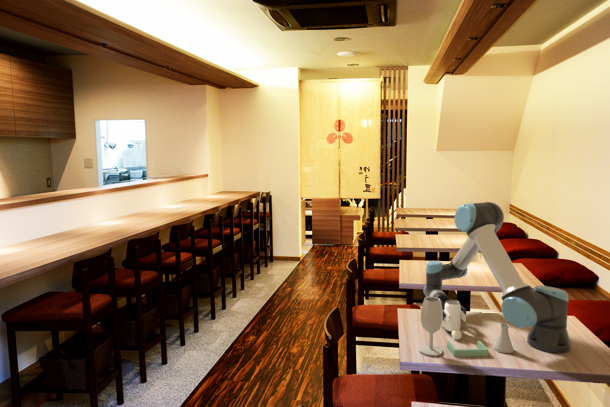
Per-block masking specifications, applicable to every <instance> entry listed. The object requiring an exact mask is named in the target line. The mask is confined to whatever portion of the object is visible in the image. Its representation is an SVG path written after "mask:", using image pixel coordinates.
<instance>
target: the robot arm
mask: <svg viewBox="0 0 610 407" xmlns="http://www.w3.org/2000/svg"><path fill="white" fill-rule="evenodd" d="M453 218H454V224H455V227H456V229H458V231H461V232H462V233H466V236H467V239H466V240H465V242H464V243H463V244H462V245H461V247H460V248H459V250H458V251H457V253H456V254H455V255H454V257H453V259H451V260H450V262H448V263H445V264H443V262H441V261H438V260H430V261H427V263H426V266H425V267H426V268H425V278H426V279H425V286H424V287H423V294H424V296H425V297H429V296H430V297H437V298H439V299H440V301H441V304H442V311H443V318H444V317H445V318H446V320H447V321H448V322H450V315H449V313H447V312H445V303H446V301H447V300H451V299H450V297H449V296H448V295H447V294H446V293H445V292H443V290H442V289H443V281H447V280H452V279H453V280H454V279H461V278H463V277H465V276H467V274H468V267H469V265H470V264H471V262H472V261H473V260H474V258H476V256H477V255H478V254H479V252H480V253H481V254H482V257H483V259H484V260H485V262H486V264H487V266H488V269H489V270H490V271H491V273H492V275H493V277H494V279H495V281H496V283H497V284H498V286H499V288H500V290H501V291H502V295H501V300H502V302H501V314H502V315H503V317H504V319H505V320H506V321H507V322H508V323H509V324H510V325H511V326H514V327H515V328H519V329H520V328H521V329H523V328H530V329H529V331H528V334H527V338H526V339H527V341H526V342H527V343H528V345H529V346H531V347H533V348H534V349H536V350H539V351H543V352H547V353H555V354H563V353H568V352H570V351H571V350H572V349H571V348H572V342H571V339H570V337H569V333H568V329H567V328H568V327H567V324H568V309H569V306H568V305H569V294H568V292H567V291H566V290H563V289H560V288H557V287H552V286H548V285H536V286H535V287H534V289H533V287H532V286H531V285H529V284H527V283H525V282H524V281H523V279H522V277H521V275H520V274H519V272H518V270H517V269H516V267H515V265H514V264H513V262H512V260H511V258H510V256H509V254H508V253H507V251H506V249H505V248H504V246H503V243H501V241H500V239H499V237H498V236H497V233H498V232H499V230H500V229H501V227H502V225H503V224H504V218H505V215H504V211H503V209H502V208H501V206H500V205H498V204H497V203H496V202H495V203H494V202H491V201H485V202H475V203H474V202H473V203H472V202H470V203H469V202H468V203H464V204H461V205H460V206H458V207H457V209H456V210H455V213H454V216H453ZM460 306H461V318H460V320H462V321H463V322H467V308H465V306H463V305H462V304H461V303H460Z"/></svg>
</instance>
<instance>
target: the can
mask: <svg viewBox="0 0 610 407" xmlns="http://www.w3.org/2000/svg"><path fill="white" fill-rule="evenodd" d="M460 304H461V303H460V301H459V300H455V299H450V300H447V301H446V303H445V312H447V313H449V315H450V322H448V321H447V320H446V318H445V317H443V320H444V321H443V324H444V326H443V328H444V330H445V331H448V332H451V333H452V331H453V330H459V331H461V306H460Z"/></svg>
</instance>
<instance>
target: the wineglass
mask: <svg viewBox="0 0 610 407" xmlns="http://www.w3.org/2000/svg"><path fill="white" fill-rule="evenodd" d="M443 311H444V310H443ZM443 311H442V304H441V301H440V299H439V298H437V297H430V296H429V297H426V296H425V297H424V299H423V301H422V305H421V312H420V322H421V327H422V329H424V330H425V331H427V333H428V334H429V340H428V341H429V344H425V345H421V346H420V348H419V353H421V354H423V355H425V356H429V357H438V356H441V355H442V354H443V348H441V347H438V346H437V345H434V334H436V332H438V331H439V330H441V327H442V323H443V320H444V317H443Z"/></svg>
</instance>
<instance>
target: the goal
mask: <svg viewBox="0 0 610 407" xmlns="http://www.w3.org/2000/svg"><path fill="white" fill-rule="evenodd" d="M476 347H477V348H456V347H455V346H454V345H453V344H452V342H451V341H450V340H449V341H446V348H447V350H448V351H449V352H450V354H451V355H452V356H453V357H454V358H455V357H456V358H457V357H488V356H489V348H488V347H487V346H485V344H484V343H483V342H482V341H481V340H477V341H476Z"/></svg>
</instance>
